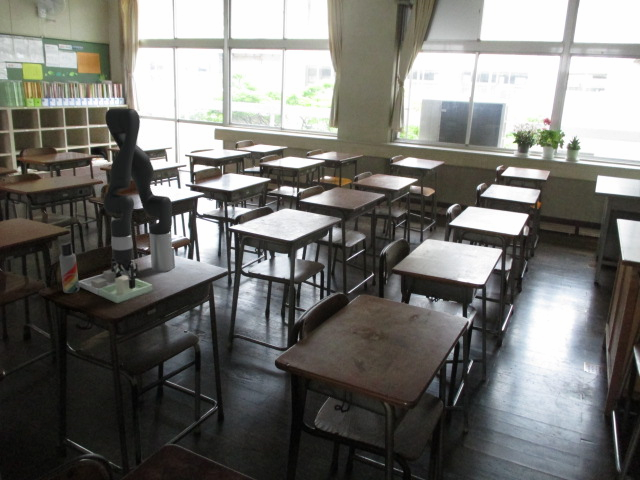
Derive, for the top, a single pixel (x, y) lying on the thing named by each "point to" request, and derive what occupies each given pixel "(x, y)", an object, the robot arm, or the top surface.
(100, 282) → the pale grey block
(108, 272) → the grey cubic sharp-edged block
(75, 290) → the lotion bottle
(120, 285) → the beige block
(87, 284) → the grey bin
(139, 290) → the green bin
